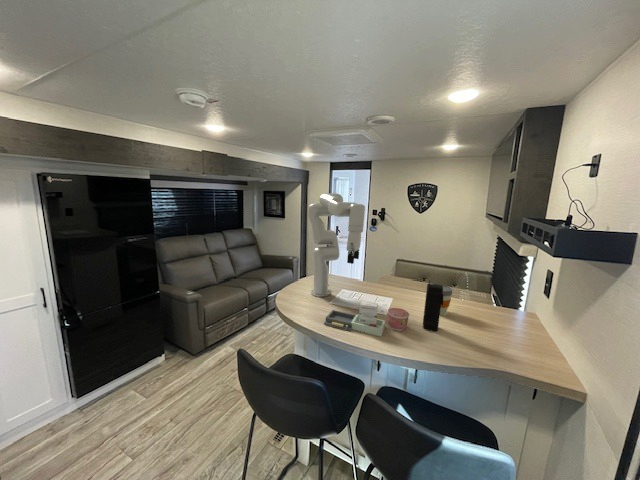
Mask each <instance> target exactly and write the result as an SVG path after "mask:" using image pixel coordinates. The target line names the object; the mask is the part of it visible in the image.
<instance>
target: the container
mask: <svg viewBox="0 0 640 480" xmlns="http://www.w3.org/2000/svg"><path fill="white" fill-rule="evenodd" d="M386 312H387V322H386V323H387V324H388V326H389V328H390V329H391V330H394V331H396V330H397V332H402V331H404V330H405V329H406V328H407V326H408V323H409V317H410V313H409V311H408V310H406V309H403V308H400V307H391V308H388V309H387V311H386Z"/></svg>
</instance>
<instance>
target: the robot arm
mask: <svg viewBox="0 0 640 480" xmlns="http://www.w3.org/2000/svg"><path fill="white" fill-rule="evenodd" d="M318 200H319V202H314V203H311V204H309V206H308V208H307V216H308V219H309V222H310V225H311V230H312V231H311V232H312V238H313V243H314V244H315V245H316V246H317V247H315V248H314V249H313V251H312V256H313V262H314V263H313V264H314V265H313V288H312V290H311V291H310V294H311V295H312V296H314V297H318V298H319V297H321V298H324V297H328V296H330V295H331V291H330V290H329V288H328V287H330V285H329V272H330V270H329V268H330V267H329V265H328V264H327V262H331V261H337V260H338V259H339V258H340V245H339V242H338V235H337V233H336V232H335V231H334V230H331V229H328V230H326V227H325V226H326V225H325V223H324V220H323V219H322V218H320V217H332V216H334V217H338V218H339V217H340V218H343V217H345V218H346V217H348V225H347V226H348V227H347V228H348V229H347V230H348V236H347V240H346V241H347V242H346V251H347V258H346V260H347V264H352V265H353V264H354V263H355V259H356V260H359V256H360V249H361V248H360V247H361V244H362V243H361V242H362V233H363V232H364V224H365V212H366V206H365V205H364V204H362V203H357V202H351V201H350V202H348V201H346V202H345V201H344V198H343V196H342V195H341V194H339V193H334V192H333V193H330V192H329V193H328V192H325V193H322V194H321V195H320V196H319V199H318ZM327 245H328V246H327Z"/></svg>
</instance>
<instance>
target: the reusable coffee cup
mask: <svg viewBox="0 0 640 480" xmlns="http://www.w3.org/2000/svg"><path fill="white" fill-rule="evenodd" d="M433 284H434V285H442V286H443V306H442V305H441V309H440V316H445V315H447V311H448V309H449V307H450V304H451V300H452V299H451V297H452V295H453V288H452V287H450V286H448V285H445V284H441V283H433Z"/></svg>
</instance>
